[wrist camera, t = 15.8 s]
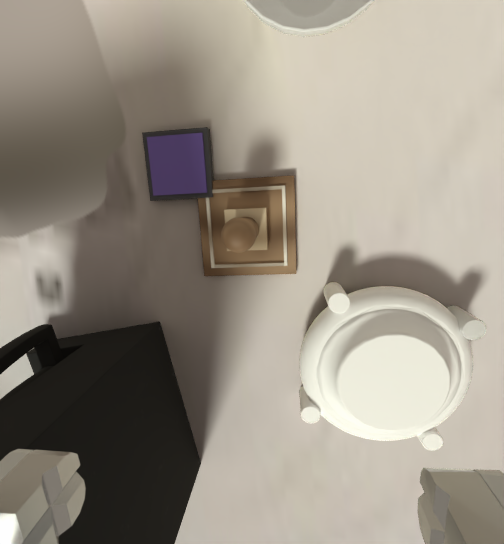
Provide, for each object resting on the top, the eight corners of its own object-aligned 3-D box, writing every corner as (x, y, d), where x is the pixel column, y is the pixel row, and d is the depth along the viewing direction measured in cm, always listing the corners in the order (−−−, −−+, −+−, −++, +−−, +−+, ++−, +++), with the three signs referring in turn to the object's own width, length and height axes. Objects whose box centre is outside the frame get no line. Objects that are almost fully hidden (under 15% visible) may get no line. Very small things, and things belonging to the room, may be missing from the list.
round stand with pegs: (505, 381, 41) (549, 417, 34) (345, 456, 46) (355, 501, 40) (412, 230, 38) (439, 237, 32) (252, 328, 44) (246, 353, 37)
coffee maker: (32, 316, 47) (-647, 626, 13) (153, 293, 44) (-310, 618, 10) (91, 473, 52) (-274, 983, 18) (202, 463, 49) (14, 1048, 15)
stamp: (226, 209, 39) (208, 212, 30) (266, 207, 39) (260, 209, 30) (229, 249, 40) (212, 263, 31) (268, 247, 40) (262, 261, 31)
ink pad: (146, 134, 39) (141, 132, 38) (209, 129, 38) (206, 126, 37) (154, 200, 41) (149, 200, 39) (214, 197, 40) (212, 197, 38)
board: (198, 181, 40) (195, 181, 38) (294, 175, 38) (294, 175, 37) (205, 274, 42) (203, 276, 41) (296, 272, 41) (296, 274, 40)
